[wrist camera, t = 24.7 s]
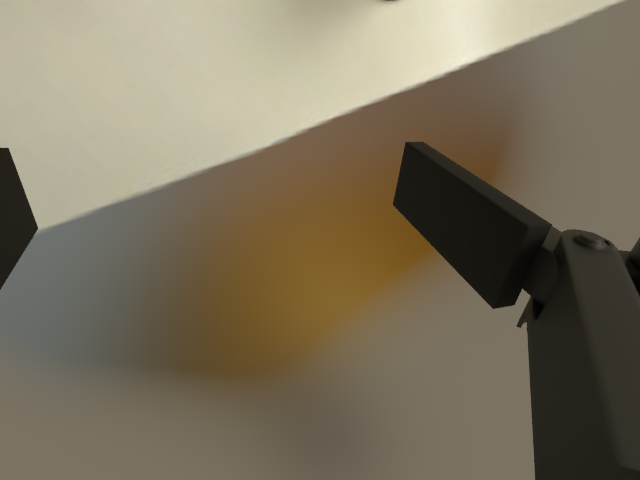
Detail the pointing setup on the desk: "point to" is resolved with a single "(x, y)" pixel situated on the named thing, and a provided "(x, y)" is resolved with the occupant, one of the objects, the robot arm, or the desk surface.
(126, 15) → the desk surface
